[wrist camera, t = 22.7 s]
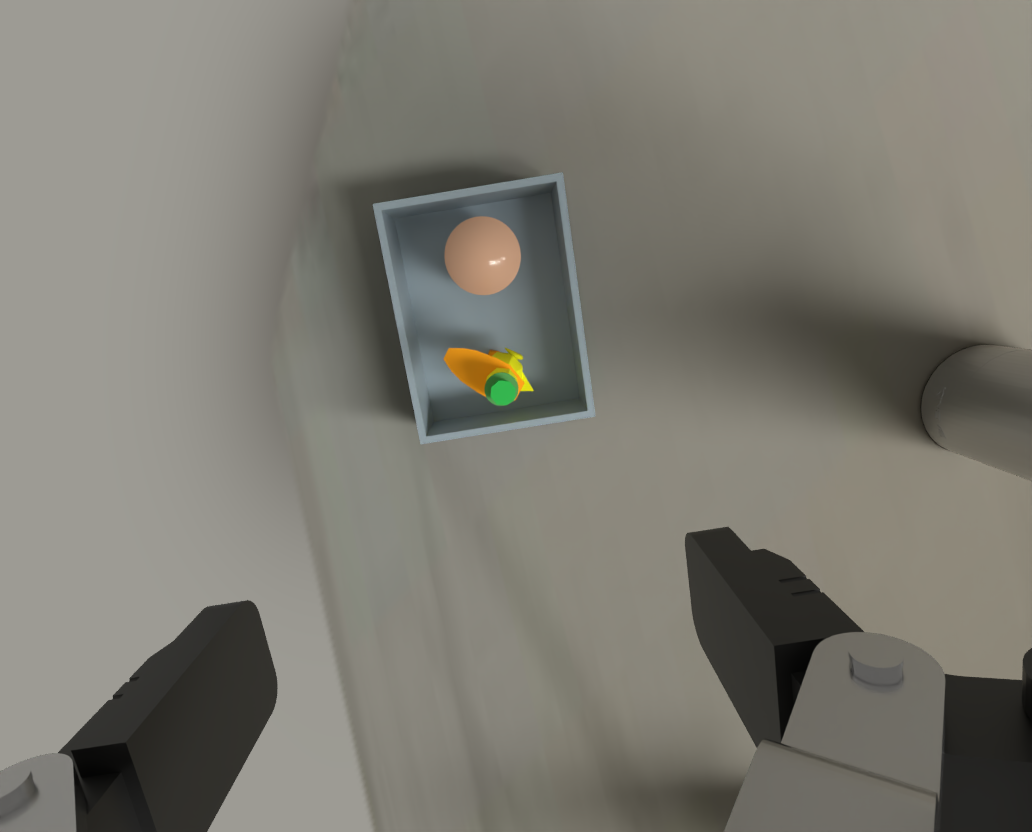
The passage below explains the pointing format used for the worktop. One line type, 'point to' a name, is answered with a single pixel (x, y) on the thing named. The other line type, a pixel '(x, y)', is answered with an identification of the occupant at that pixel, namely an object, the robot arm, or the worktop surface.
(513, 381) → the toy figure
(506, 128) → the worktop surface
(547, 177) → the tote
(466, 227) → the brown egg
